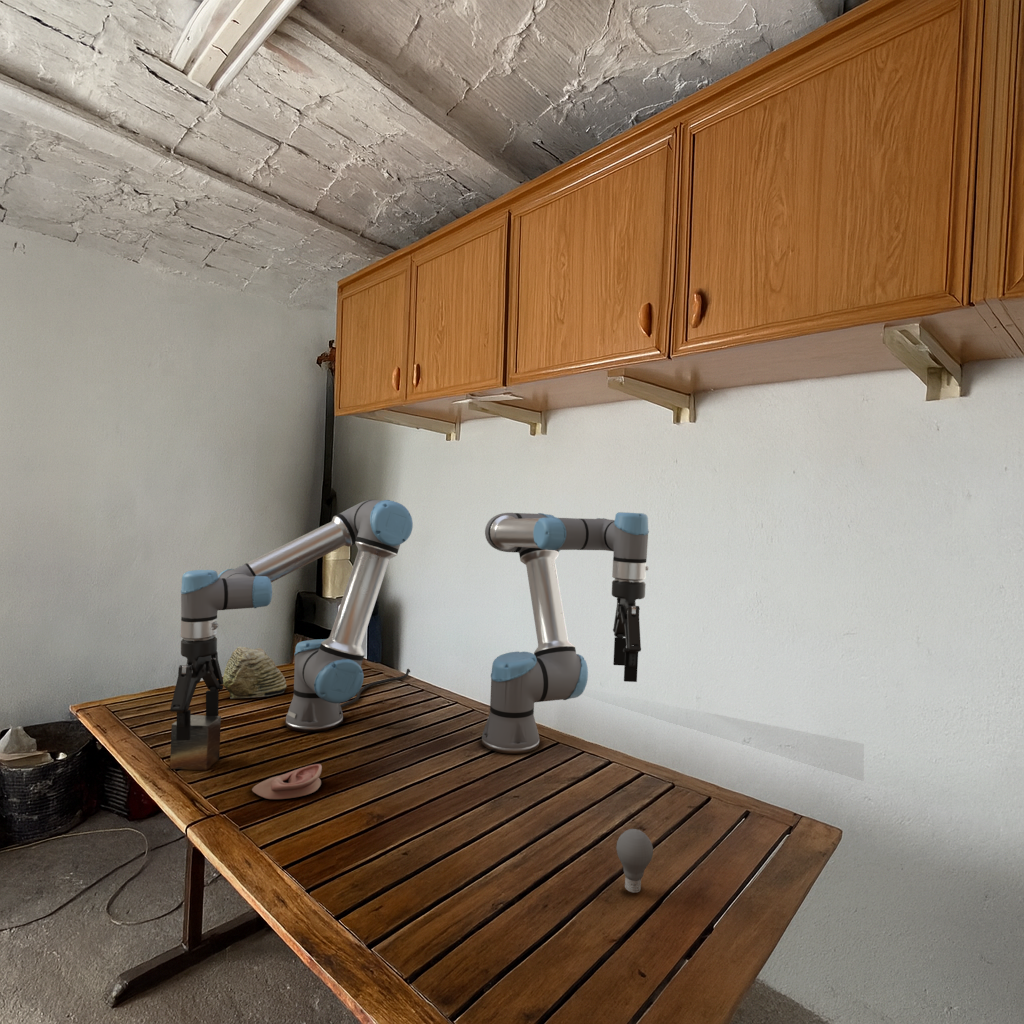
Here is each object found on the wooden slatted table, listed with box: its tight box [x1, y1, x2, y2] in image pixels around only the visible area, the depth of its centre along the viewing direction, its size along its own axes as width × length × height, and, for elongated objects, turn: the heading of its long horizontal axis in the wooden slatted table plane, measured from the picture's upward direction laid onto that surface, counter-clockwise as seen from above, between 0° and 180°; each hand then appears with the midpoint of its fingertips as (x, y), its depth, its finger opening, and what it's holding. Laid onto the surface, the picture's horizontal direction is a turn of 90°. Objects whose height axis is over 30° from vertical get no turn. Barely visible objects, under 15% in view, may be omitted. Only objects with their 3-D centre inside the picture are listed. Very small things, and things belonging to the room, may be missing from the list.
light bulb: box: [615, 828, 654, 894], centre depth 106 cm, size 6×6×10 cm
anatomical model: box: [251, 763, 323, 800], centre depth 137 cm, size 13×4×12 cm
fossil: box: [222, 646, 288, 699], centre depth 198 cm, size 9×18×15 cm, turn 132°
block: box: [169, 714, 222, 771], centre depth 147 cm, size 8×6×10 cm
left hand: (198, 728), depth 147 cm, fingers open, 13 cm apart
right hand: (624, 672), depth 145 cm, fingers open, 13 cm apart
